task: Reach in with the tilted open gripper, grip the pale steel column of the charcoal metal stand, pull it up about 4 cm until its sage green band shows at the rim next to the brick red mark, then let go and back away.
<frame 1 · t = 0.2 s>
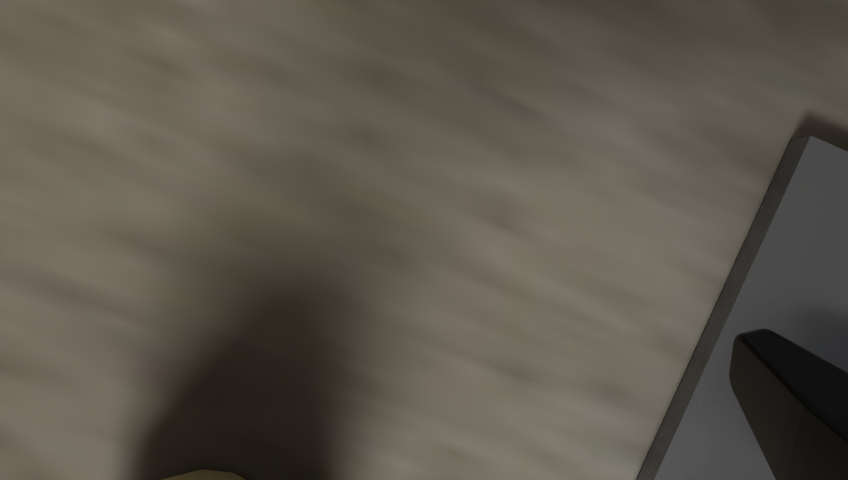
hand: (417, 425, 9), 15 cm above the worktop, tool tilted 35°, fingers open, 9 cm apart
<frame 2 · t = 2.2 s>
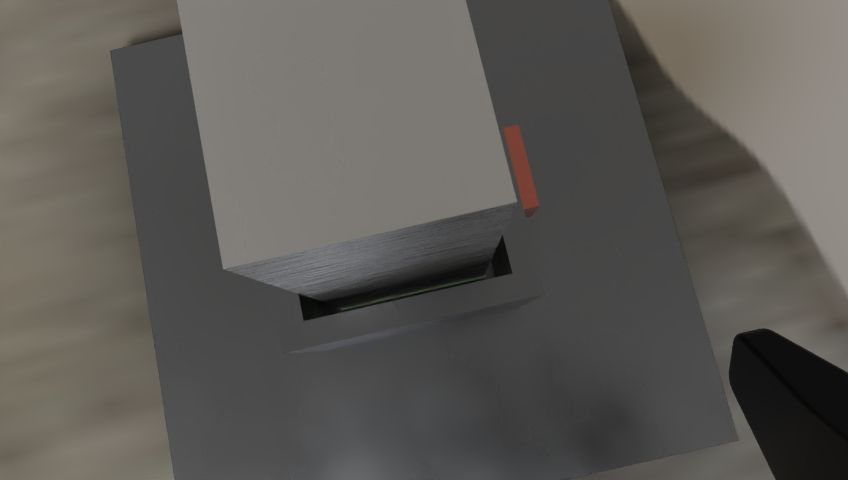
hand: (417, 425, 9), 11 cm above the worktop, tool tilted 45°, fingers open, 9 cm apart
stand: (404, 238, 21), on the worktop
column: (382, 188, 14), point 7 cm above the worktop, slide at 0.0 cm
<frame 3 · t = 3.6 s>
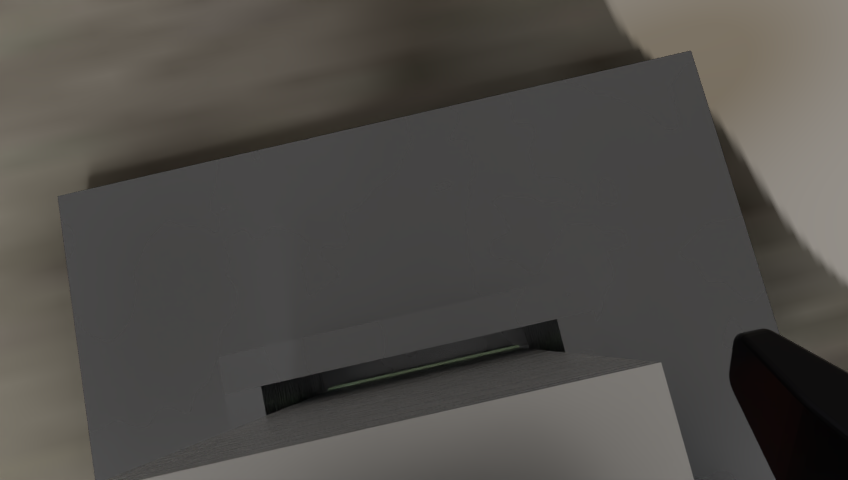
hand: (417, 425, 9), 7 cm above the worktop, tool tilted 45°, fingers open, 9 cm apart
stand: (446, 445, 16), on the worktop
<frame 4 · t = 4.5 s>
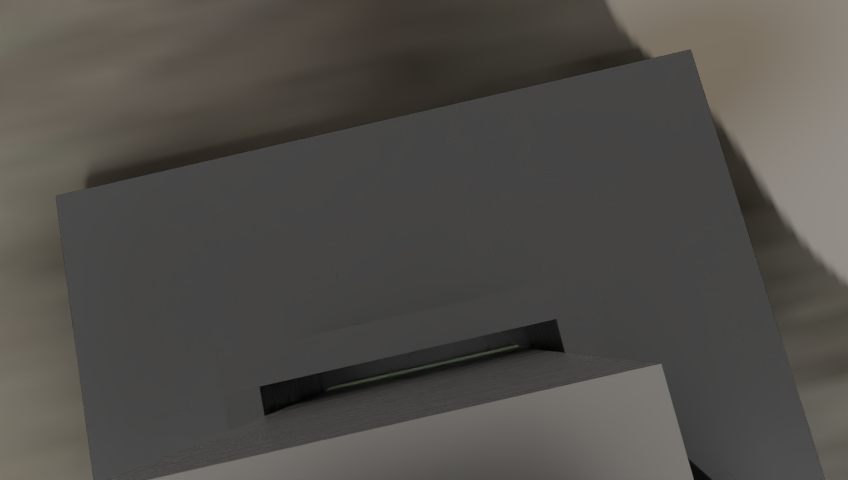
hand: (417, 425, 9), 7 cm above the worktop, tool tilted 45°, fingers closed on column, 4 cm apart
stand: (445, 445, 16), on the worktop
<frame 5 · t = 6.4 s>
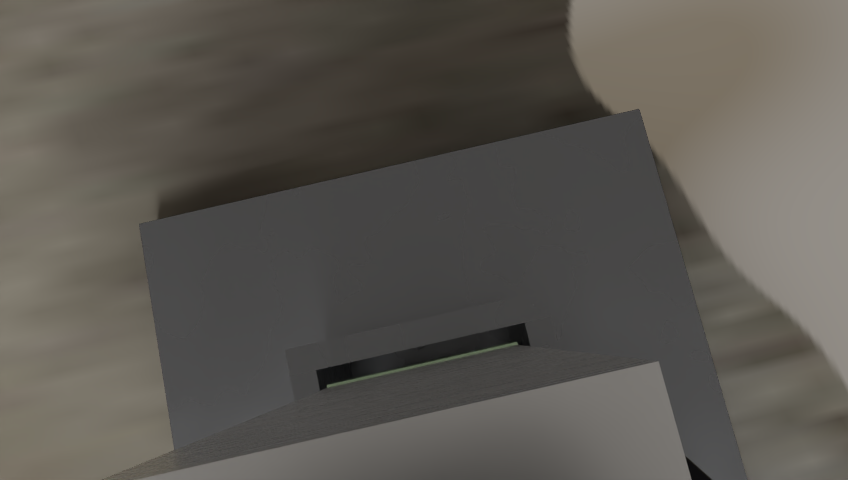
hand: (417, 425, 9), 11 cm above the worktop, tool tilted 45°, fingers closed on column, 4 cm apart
stand: (446, 420, 20), on the worktop
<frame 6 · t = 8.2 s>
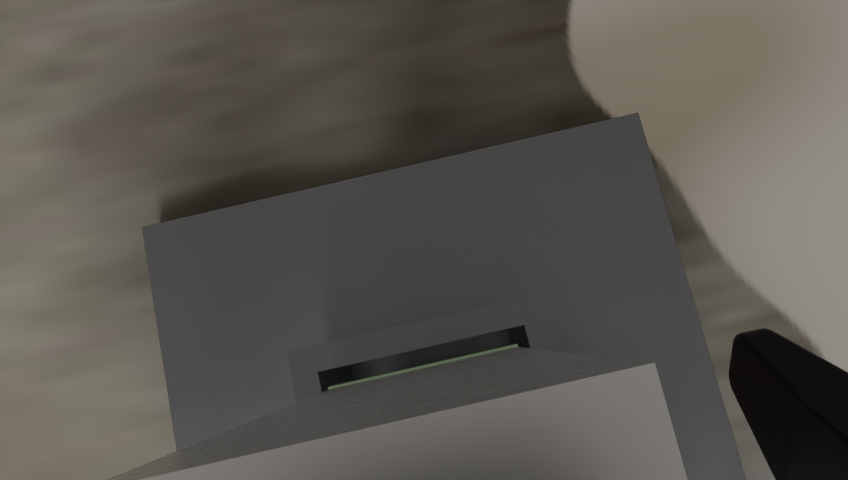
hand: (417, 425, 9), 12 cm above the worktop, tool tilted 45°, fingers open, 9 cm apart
stand: (446, 421, 20), on the worktop
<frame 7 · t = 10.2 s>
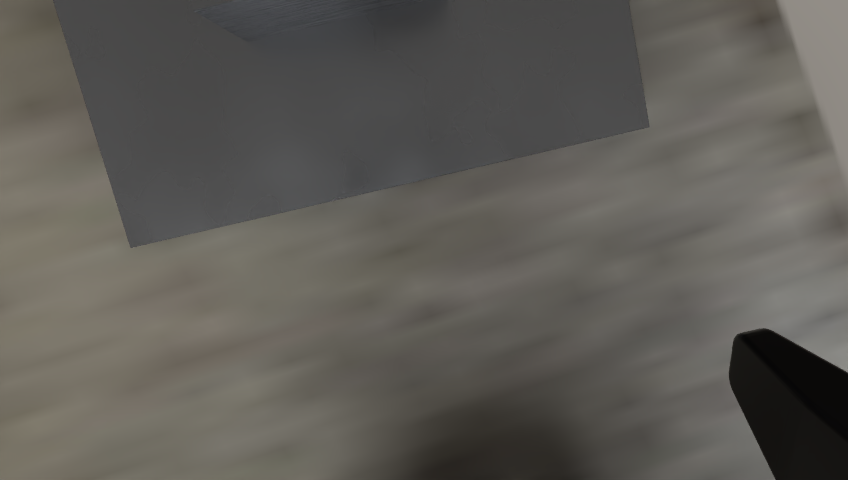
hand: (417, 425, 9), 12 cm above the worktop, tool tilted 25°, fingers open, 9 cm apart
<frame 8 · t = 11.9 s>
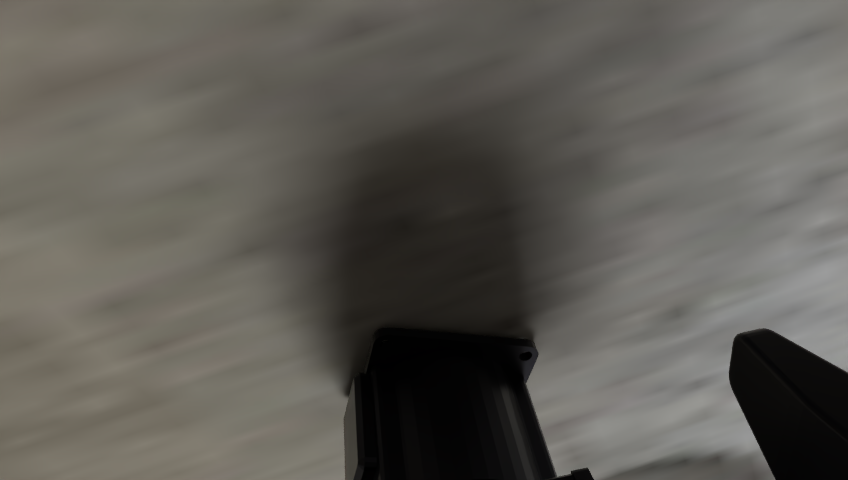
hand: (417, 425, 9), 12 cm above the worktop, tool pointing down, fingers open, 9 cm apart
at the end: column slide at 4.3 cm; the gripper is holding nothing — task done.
